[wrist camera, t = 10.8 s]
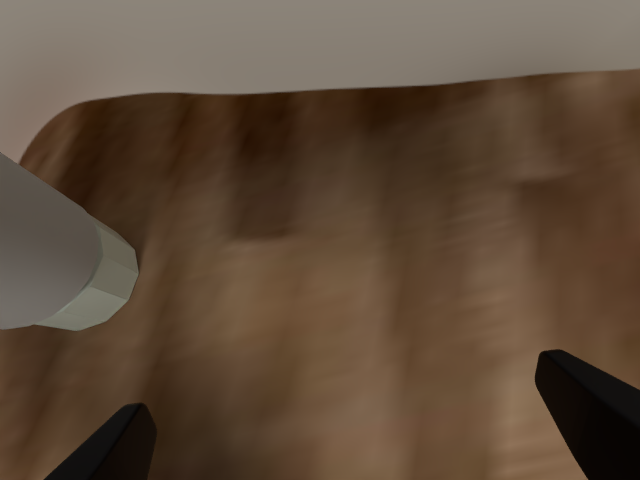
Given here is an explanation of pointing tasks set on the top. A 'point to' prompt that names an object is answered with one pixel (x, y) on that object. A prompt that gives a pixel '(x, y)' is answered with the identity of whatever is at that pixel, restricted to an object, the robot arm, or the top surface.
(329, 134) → the top surface
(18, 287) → the can
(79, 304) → the bowl
